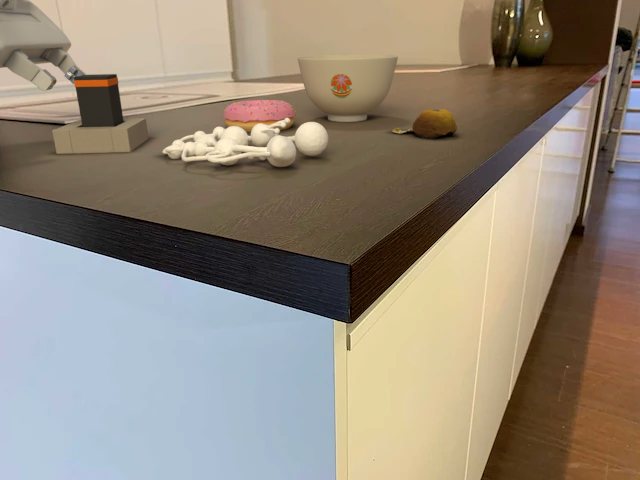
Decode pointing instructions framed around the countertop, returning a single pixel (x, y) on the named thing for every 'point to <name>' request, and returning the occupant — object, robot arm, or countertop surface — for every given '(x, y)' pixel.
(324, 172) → the countertop surface
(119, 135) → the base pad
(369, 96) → the bowl
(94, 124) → the black orange-banded block
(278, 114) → the doughnut
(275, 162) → the tangled rod sculpture
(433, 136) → the fruit
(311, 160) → the countertop surface
